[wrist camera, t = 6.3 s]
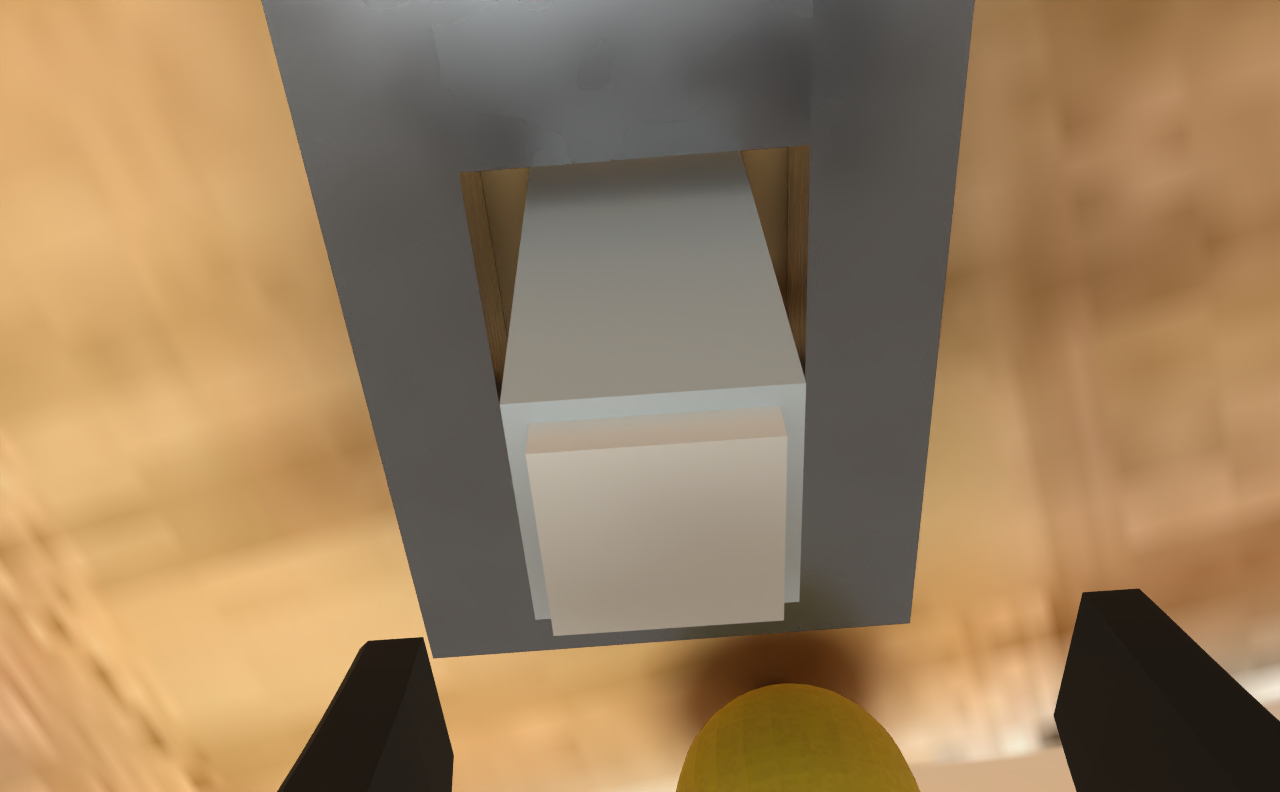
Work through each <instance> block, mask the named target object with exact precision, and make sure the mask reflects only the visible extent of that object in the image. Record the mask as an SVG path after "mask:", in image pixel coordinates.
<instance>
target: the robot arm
mask: <svg viewBox="0 0 1280 792" xmlns="http://www.w3.org/2000/svg"><path fill="white" fill-rule="evenodd" d="M1054 718H1055V722H1056V725H1057V729H1058V732H1059V736H1060V739H1061V742H1062V746H1063V749H1064V753H1065V756H1066V759H1067V763H1068V766H1069V769H1070V772H1071V776H1072V779H1073V782H1074V785H1075V788H1076V791H1077V792H1280V721H1279V720H1278V719H1277V718H1275V717H1274V716H1273V715H1272V714H1271V713H1270V712H1269V711H1268V710H1267V709H1266V708H1265V707H1263V706H1262V705H1261V704H1260V703H1259V702H1258V701H1257V700H1256V699H1255V698H1254V697H1253V696H1252V695H1251V694H1249V693H1248V692H1247V691H1246V690H1245V689H1244V688H1243V687H1242V686H1241V685H1240V684H1239V683H1238V682H1237V681H1236V680H1235V679H1234V678H1232V677H1231V676H1230V675H1229V674H1228V673H1227V672H1226V671H1225V670H1224V669H1223V668H1222V667H1221V666H1220V665H1219V664H1218V663H1217V662H1216V661H1215V660H1213V659H1212V658H1211V657H1210V656H1209V655H1208V654H1207V653H1206V652H1205V651H1204V650H1203V649H1202V648H1201V647H1200V646H1199V645H1198V644H1197V643H1196V642H1195V641H1194V640H1193V639H1192V638H1191V637H1190V636H1188V635H1187V634H1186V633H1185V632H1184V631H1183V630H1182V629H1181V628H1180V627H1179V626H1178V625H1177V624H1176V623H1175V622H1174V621H1173V620H1172V619H1171V618H1170V617H1169V616H1168V615H1167V614H1166V613H1164V612H1163V611H1162V610H1161V609H1160V608H1159V607H1158V606H1157V605H1156V604H1155V603H1154V602H1153V601H1152V600H1151V599H1150V598H1149V597H1148V596H1146V595H1145V594H1144V593H1143V592H1142V591H1141V590H1140V589H1127V590H1112V591H1097V592H1083V593H1082V598H1081V602H1080V606H1079V610H1078V615H1077V619H1076V623H1075V627H1074V631H1073V636H1072V640H1071V644H1070V648H1069V653H1068V657H1067V661H1066V665H1065V670H1064V674H1063V678H1062V682H1061V687H1060V691H1059V695H1058V699H1057V703H1056V708H1055V712H1054ZM453 759H454V755H453V751H452V747H451V743H450V739H449V735H448V731H447V728H446V724H445V720H444V716H443V712H442V708H441V704H440V701H439V697H438V693H437V689H436V685H435V681H434V677H433V673H432V670H431V666H430V662H429V658H428V654H427V650H426V646H425V642H424V639H423V637H419V638H404V639H389V640H374V641H368V642H367V643H365V644H364V645H363V646H362V647H361V648H360V650H359V652H358V654H357V655H356V657H355V659H354V661H353V663H352V665H351V667H350V669H349V671H348V672H347V674H346V676H345V678H344V680H343V682H342V683H341V685H340V687H339V689H338V691H337V692H336V694H335V696H334V698H333V700H332V701H331V703H330V705H329V707H328V708H327V710H326V712H325V714H324V715H323V717H322V719H321V721H320V722H319V724H318V726H317V727H316V729H315V731H314V733H313V734H312V736H311V738H310V739H309V741H308V743H307V744H306V746H305V748H304V749H303V751H302V753H301V754H300V756H299V758H298V759H297V761H296V763H295V764H294V766H293V767H292V769H291V770H290V772H289V774H288V775H287V777H286V778H285V780H284V782H283V783H282V785H281V786H280V788H279V790H278V791H277V792H452V776H453Z"/></svg>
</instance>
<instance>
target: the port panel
mask: <svg viewBox="0 0 1280 792" xmlns="http://www.w3.org/2000/svg"><path fill="white" fill-rule="evenodd" d="M261 1H262V5H263V9H264V13H265V16H266V20H267V24H268V28H269V32H270V35H271V39H272V43H273V47H274V51H275V55H276V58H277V62H278V66H279V70H280V74H281V78H282V81H283V85H284V89H285V93H286V97H287V101H288V104H289V108H290V112H291V116H292V120H293V123H294V127H295V131H296V135H297V139H298V143H299V146H300V150H301V154H302V158H303V162H304V166H305V169H306V173H307V177H308V181H309V185H310V188H311V192H312V196H313V200H314V204H315V208H316V211H317V215H318V219H319V223H320V227H321V231H322V234H323V238H324V242H325V246H326V250H327V253H328V257H329V261H330V265H331V269H332V273H333V276H334V280H335V284H336V288H337V292H338V296H339V299H340V303H341V307H342V311H343V315H344V318H345V322H346V326H347V330H348V334H349V338H350V341H351V345H352V349H353V353H354V357H355V361H356V364H357V368H358V372H359V376H360V380H361V384H362V387H363V391H364V395H365V399H366V403H367V406H368V410H369V414H370V418H371V422H372V426H373V429H374V433H375V437H376V441H377V445H378V449H379V452H380V456H381V460H382V464H383V468H384V471H385V475H386V479H387V483H388V487H389V491H390V494H391V498H392V502H393V506H394V510H395V514H396V517H397V521H398V525H399V529H400V533H401V536H402V540H403V544H404V548H405V552H406V556H407V559H408V563H409V567H410V571H411V575H412V579H413V582H414V586H415V590H416V594H417V598H418V602H419V605H420V609H421V613H422V617H423V621H424V624H425V628H426V632H427V636H428V640H429V644H430V647H431V651H432V655H433V658H445V657H459V656H472V655H486V654H499V653H513V652H526V651H540V650H554V649H567V648H581V647H594V646H608V645H621V644H635V643H649V642H662V641H676V640H689V639H703V638H716V637H730V636H743V635H757V634H771V633H784V632H798V631H811V630H825V629H838V628H852V627H866V626H879V625H893V624H906V623H910V617H911V607H912V598H913V588H914V578H915V569H916V559H917V549H918V540H919V530H920V521H921V511H922V501H923V492H924V482H925V472H926V463H927V453H928V444H929V434H930V424H931V415H932V405H933V395H934V386H935V376H936V367H937V357H938V347H939V338H940V328H941V318H942V309H943V299H944V290H945V280H946V270H947V261H948V251H949V242H950V232H951V222H952V213H953V203H954V193H955V184H956V174H957V165H958V155H959V145H960V136H961V126H962V116H963V107H964V97H965V88H966V78H967V68H968V59H969V49H970V39H971V30H972V20H973V11H974V1H975V0H261ZM778 147H789V154H788V261H787V317H788V321H789V325H790V328H791V332H792V335H793V339H794V342H795V346H796V349H797V353H798V356H799V360H800V363H801V367H802V370H803V374H804V377H805V381H806V403H805V435H804V467H803V500H802V532H801V564H800V596H799V602H789V603H784V620H783V621H768V622H753V623H738V624H724V625H709V626H694V627H679V628H665V629H650V630H635V631H621V632H606V633H591V634H576V635H562V636H554V635H553V629H552V622H551V619H539V620H535V614H534V608H533V602H532V596H531V590H530V584H529V578H528V572H527V566H526V560H525V554H524V548H523V542H522V536H521V530H520V524H519V518H518V512H517V506H516V500H515V494H514V488H513V482H512V476H511V470H510V464H509V458H508V452H507V446H506V440H505V434H504V428H503V422H502V416H501V410H500V398H501V390H502V382H503V374H504V366H505V358H506V351H507V343H508V339H507V333H506V326H505V320H504V314H503V308H502V302H501V296H500V290H499V284H498V278H497V271H496V265H495V259H494V253H493V247H492V241H491V235H490V229H489V223H488V216H487V210H486V204H485V198H484V192H483V186H482V180H481V174H480V171H487V170H500V169H512V168H525V167H538V166H550V165H563V164H576V163H588V162H601V161H614V160H626V159H639V158H652V157H664V156H677V155H690V154H702V153H715V152H728V151H740V150H753V149H766V148H778Z"/></svg>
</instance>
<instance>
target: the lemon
mask: <svg viewBox="0 0 1280 792" xmlns="http://www.w3.org/2000/svg"><path fill="white" fill-rule="evenodd" d="M676 792H920V790H919V788H918V785H917V783H916V781H915V778H914V776H913V774H912V772H911V770H910V768H909V766H908V764H907V763H906V761H905V759H904V757H903V755H902V753H901V751H900V749H899V748H898V746H897V745H896V743H895V742H894V740H893V738H892V737H891V736H890V734H889V733H888V732H887V731H886V730H885V729H884V727H883V726H882V725H881V724H880V723H878V722H877V721H876V720H875V719H874V718H873V717H872V716H871V715H870V714H869V713H867V712H866V711H865V710H864V709H863V708H862V707H860V706H859V705H858V704H856V703H854V702H853V701H851V700H849V699H847V698H845V697H843V696H841V695H839V694H837V693H835V692H833V691H830V690H827V689H824V688H820V687H816V686H812V685H808V684H794V683H785V684H776V685H768V686H765V687H761V688H758V689H754V690H751V691H749V692H747V693H745V694H743V695H741V696H739V697H737V698H735V699H733V700H732V701H730V702H729V703H728V704H726V705H725V706H724V707H723V708H721V709H720V710H719V711H718V712H716V713H715V714H714V715H713V716H712V717H711V718H710V719H709V721H708V722H707V723H706V724H705V726H704V727H703V728H702V730H701V731H700V732H699V734H698V735H697V736H696V738H695V740H694V741H693V743H692V745H691V746H690V749H689V751H688V754H687V756H686V759H685V762H684V765H683V768H682V771H681V774H680V777H679V781H678V785H677V789H676Z"/></svg>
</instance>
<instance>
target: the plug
mask: <svg viewBox="0 0 1280 792" xmlns="http://www.w3.org/2000/svg"><path fill="white" fill-rule="evenodd" d="M805 403H806V381H805V377H804V374H803V370H802V367H801V363H800V360H799V356H798V353H797V349H796V346H795V342H794V339H793V335H792V332H791V328H790V325H789V321H788V317H787V314H786V310H785V307H784V303H783V300H782V296H781V293H780V289H779V286H778V282H777V279H776V275H775V272H774V268H773V265H772V261H771V258H770V254H769V250H768V247H767V243H766V240H765V236H764V233H763V229H762V226H761V222H760V219H759V215H758V212H757V208H756V205H755V201H754V198H753V194H752V191H751V187H750V183H749V180H748V176H747V173H746V169H745V166H744V162H743V159H742V155H741V152H740V151H728V152H715V153H702V154H690V155H677V156H664V157H652V158H639V159H626V160H614V161H601V162H588V163H576V164H563V165H550V166H538V167H530V170H529V177H528V185H527V193H526V201H525V209H524V217H523V225H522V233H521V240H520V248H519V256H518V264H517V272H516V280H515V288H514V296H513V303H512V311H511V319H510V327H509V335H508V343H507V351H506V358H505V366H504V374H503V382H502V390H501V398H500V410H501V416H502V422H503V428H504V434H505V440H506V446H507V452H508V458H509V464H510V470H511V476H512V482H513V488H514V494H515V500H516V506H517V512H518V518H519V524H520V530H521V536H522V542H523V548H524V554H525V560H526V566H527V572H528V578H529V584H530V590H531V596H532V602H533V608H534V614H535V620H539V619H551V622H552V629H553V635H554V636H562V635H576V634H591V633H606V632H621V631H635V630H650V629H665V628H679V627H694V626H709V625H724V624H738V623H753V622H768V621H783V620H784V603H789V602H799V596H800V564H801V532H802V500H803V467H804V435H805Z"/></svg>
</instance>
